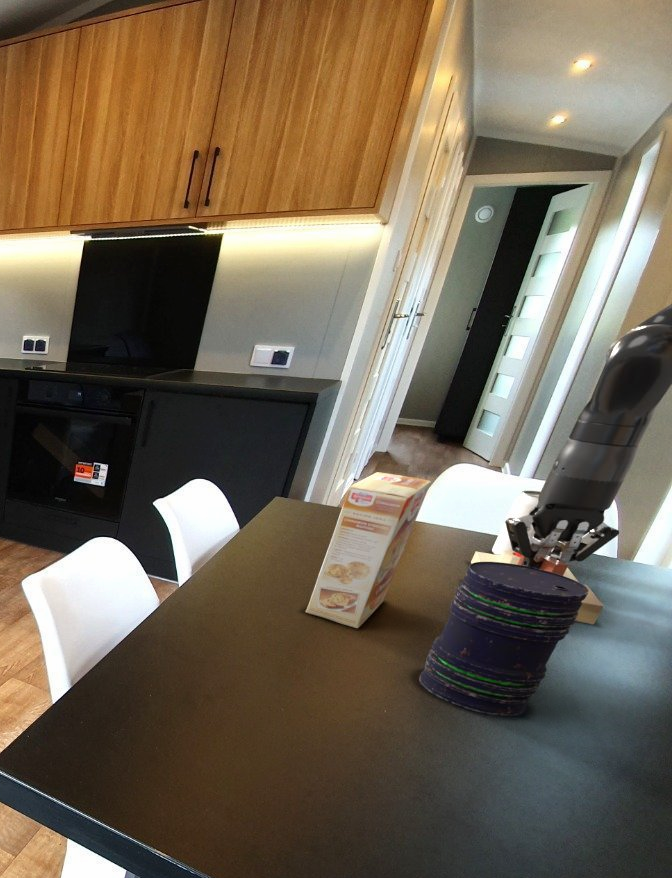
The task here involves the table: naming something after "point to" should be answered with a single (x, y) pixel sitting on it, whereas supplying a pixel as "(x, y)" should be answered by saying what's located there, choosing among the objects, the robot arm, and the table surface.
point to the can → (517, 510)
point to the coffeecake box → (366, 547)
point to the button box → (507, 560)
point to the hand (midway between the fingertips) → (533, 582)
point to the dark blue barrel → (501, 636)
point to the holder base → (589, 608)
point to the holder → (550, 565)
